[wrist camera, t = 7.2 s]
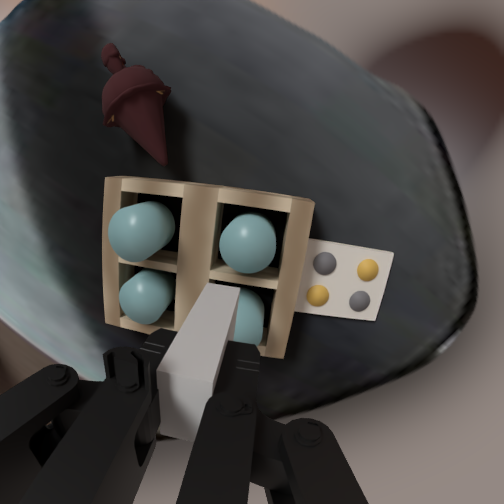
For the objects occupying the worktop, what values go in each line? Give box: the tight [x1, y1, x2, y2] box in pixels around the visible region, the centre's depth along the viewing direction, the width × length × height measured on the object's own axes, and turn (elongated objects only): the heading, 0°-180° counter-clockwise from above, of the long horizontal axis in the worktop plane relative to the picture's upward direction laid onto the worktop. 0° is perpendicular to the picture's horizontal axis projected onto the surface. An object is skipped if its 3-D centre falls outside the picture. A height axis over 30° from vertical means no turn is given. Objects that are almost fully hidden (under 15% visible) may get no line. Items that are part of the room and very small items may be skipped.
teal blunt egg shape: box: [108, 201, 175, 262], centre depth 26 cm, size 5×5×5 cm
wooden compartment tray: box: [102, 176, 315, 359], centre depth 30 cm, size 20×16×4 cm
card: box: [294, 238, 394, 321], centre depth 31 cm, size 10×8×1 cm
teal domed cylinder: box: [233, 287, 264, 346], centre depth 28 cm, size 5×5×5 cm
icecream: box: [101, 43, 171, 166], centre depth 25 cm, size 7×7×15 cm
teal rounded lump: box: [119, 267, 176, 324], centre depth 30 cm, size 5×5×5 cm
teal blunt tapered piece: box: [219, 211, 276, 273], centre depth 28 cm, size 5×5×5 cm
